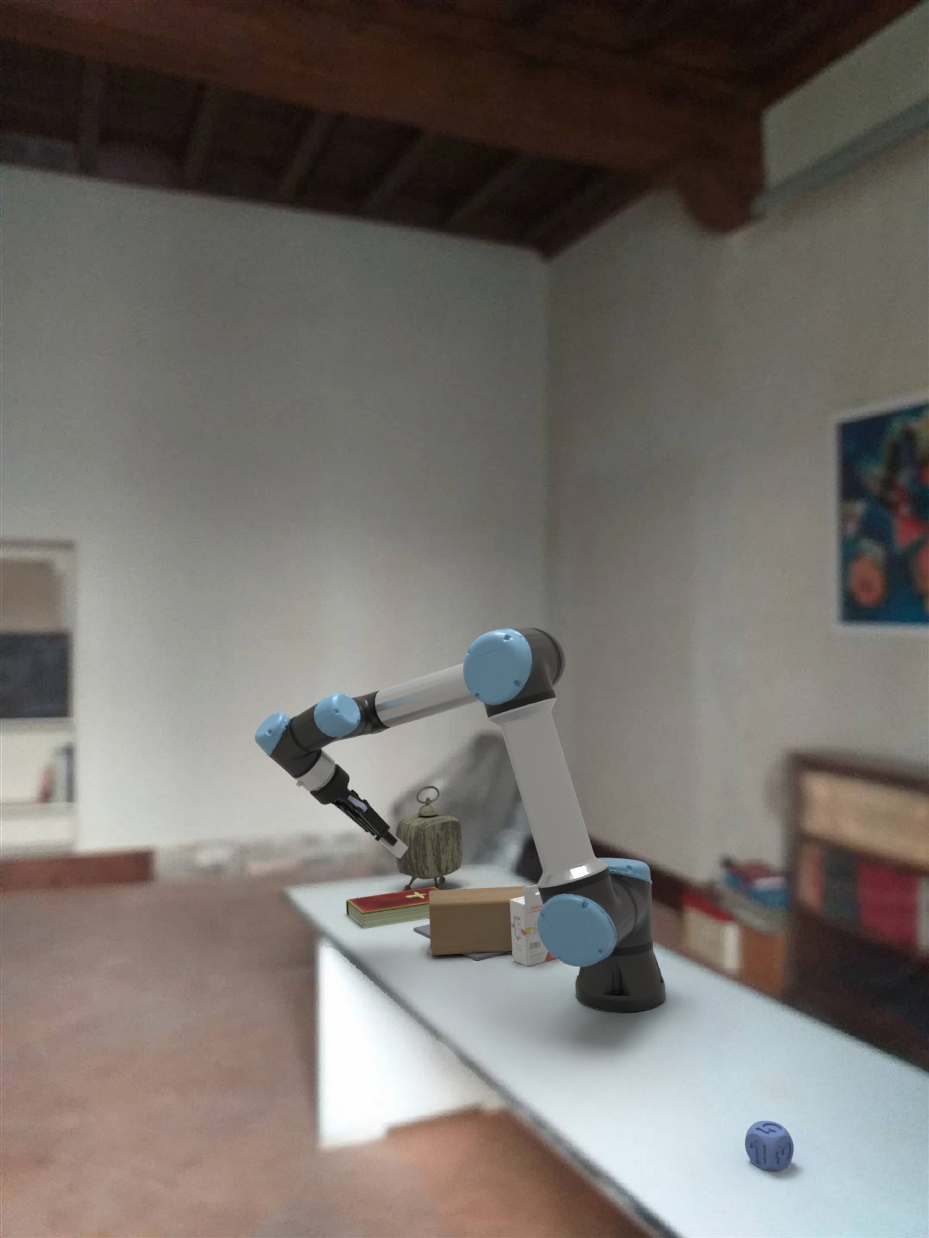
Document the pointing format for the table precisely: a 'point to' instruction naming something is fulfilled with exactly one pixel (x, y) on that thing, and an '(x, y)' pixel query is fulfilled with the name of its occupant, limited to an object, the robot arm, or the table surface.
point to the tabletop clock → (429, 843)
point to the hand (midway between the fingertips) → (402, 852)
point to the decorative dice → (769, 1146)
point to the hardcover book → (390, 907)
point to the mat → (476, 956)
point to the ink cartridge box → (527, 929)
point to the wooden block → (471, 920)
